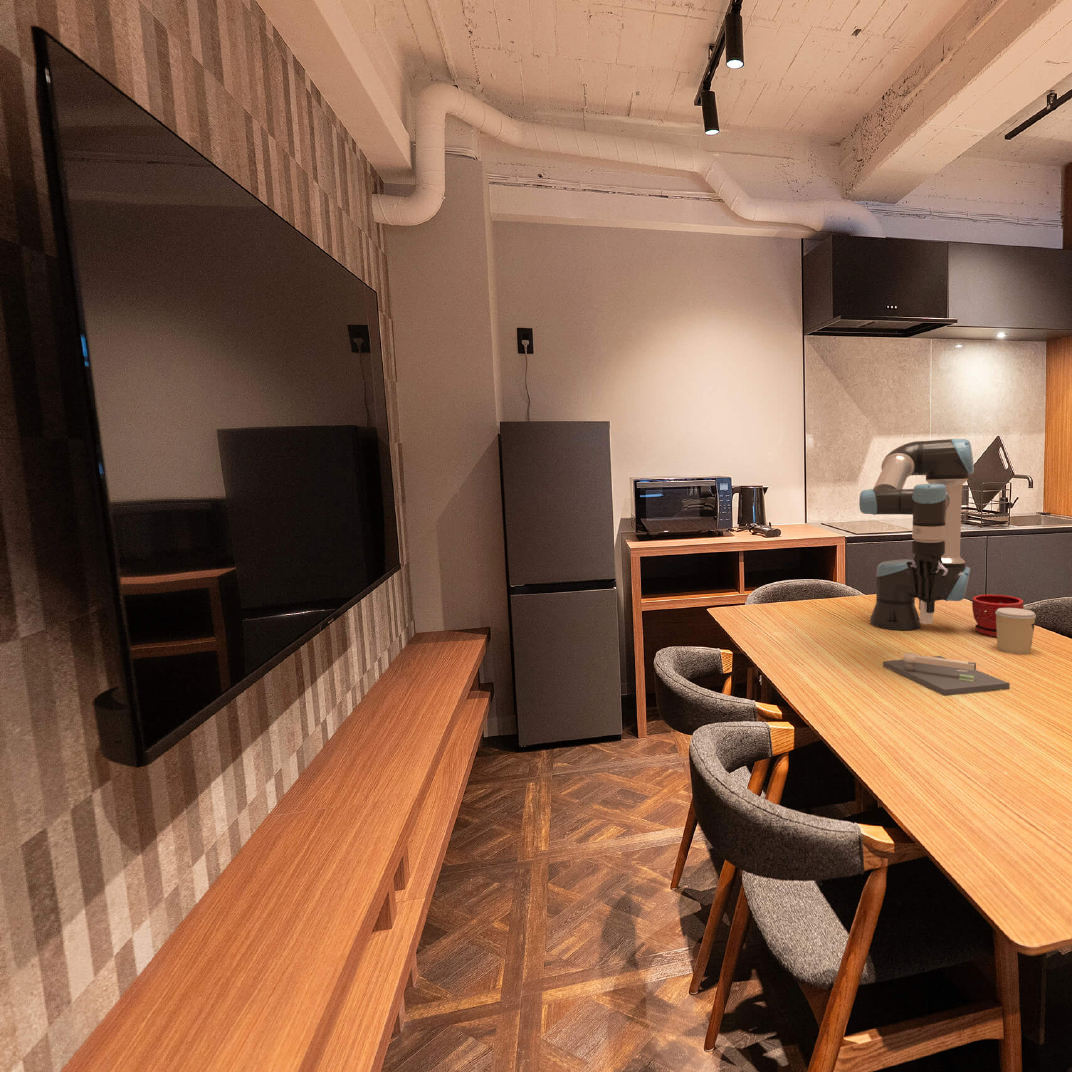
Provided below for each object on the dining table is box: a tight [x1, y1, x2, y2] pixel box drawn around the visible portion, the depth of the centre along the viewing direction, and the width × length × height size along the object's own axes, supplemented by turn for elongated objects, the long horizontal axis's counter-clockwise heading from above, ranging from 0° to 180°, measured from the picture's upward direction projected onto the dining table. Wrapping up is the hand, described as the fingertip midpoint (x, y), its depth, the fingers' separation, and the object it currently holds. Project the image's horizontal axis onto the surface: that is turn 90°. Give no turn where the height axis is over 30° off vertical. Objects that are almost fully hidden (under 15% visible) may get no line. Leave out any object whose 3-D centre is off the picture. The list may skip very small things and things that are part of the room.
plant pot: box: [971, 594, 1024, 638], centre depth 188 cm, size 13×13×12 cm
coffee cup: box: [995, 608, 1037, 655], centre depth 173 cm, size 9×9×12 cm
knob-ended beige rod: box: [903, 652, 977, 670], centre depth 154 cm, size 16×3×2 cm, turn 52°
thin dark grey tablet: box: [882, 655, 1011, 696], centre depth 156 cm, size 22×18×4 cm
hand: (926, 622), depth 161 cm, fingers closed
